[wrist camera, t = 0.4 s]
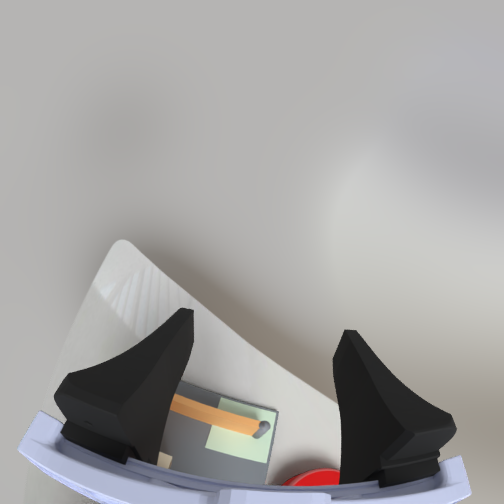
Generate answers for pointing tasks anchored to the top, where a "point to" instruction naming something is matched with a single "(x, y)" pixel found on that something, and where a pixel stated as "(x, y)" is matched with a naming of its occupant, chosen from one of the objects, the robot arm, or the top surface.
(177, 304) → the top surface
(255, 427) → the rail
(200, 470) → the mat
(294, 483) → the decorative ornament
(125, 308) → the top surface
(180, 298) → the top surface
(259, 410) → the end pad
